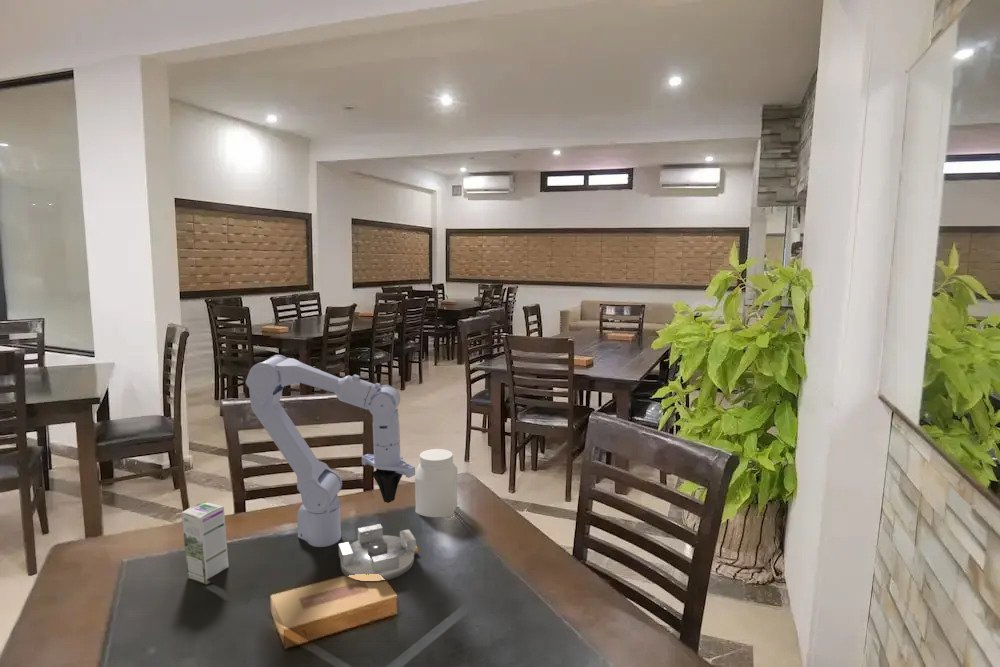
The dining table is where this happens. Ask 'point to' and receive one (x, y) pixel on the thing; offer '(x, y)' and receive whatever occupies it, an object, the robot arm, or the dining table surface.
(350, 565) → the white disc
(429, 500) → the jar
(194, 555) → the syrup box
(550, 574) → the dining table surface
